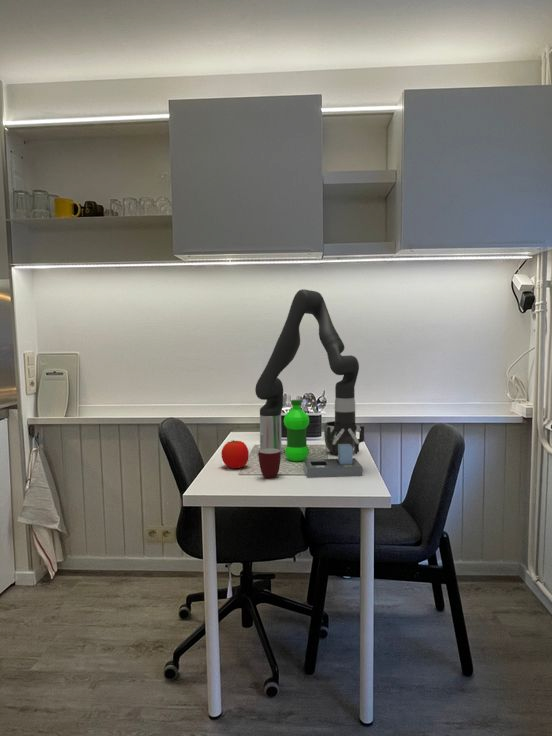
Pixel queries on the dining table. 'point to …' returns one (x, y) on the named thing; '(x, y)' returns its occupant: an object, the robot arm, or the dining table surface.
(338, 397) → the robot arm
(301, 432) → the plastic bottle
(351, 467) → the panel
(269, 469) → the mug
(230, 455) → the tomato
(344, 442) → the planter
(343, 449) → the plug
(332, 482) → the dining table surface
